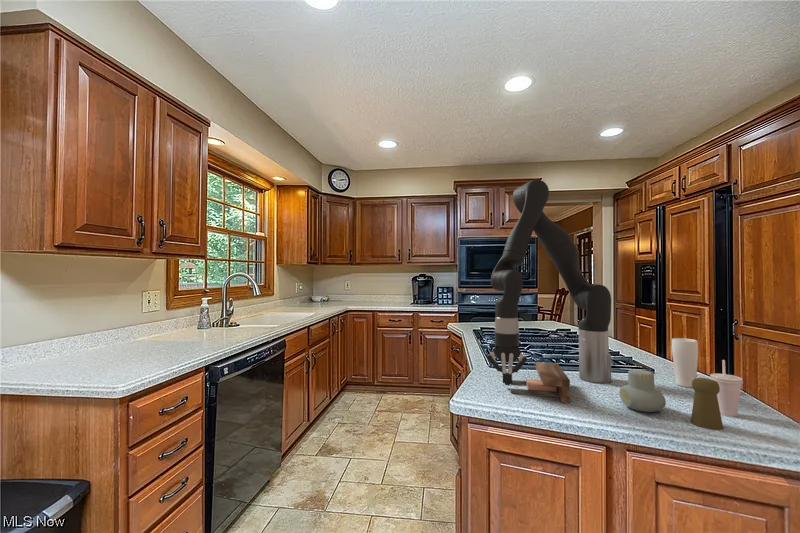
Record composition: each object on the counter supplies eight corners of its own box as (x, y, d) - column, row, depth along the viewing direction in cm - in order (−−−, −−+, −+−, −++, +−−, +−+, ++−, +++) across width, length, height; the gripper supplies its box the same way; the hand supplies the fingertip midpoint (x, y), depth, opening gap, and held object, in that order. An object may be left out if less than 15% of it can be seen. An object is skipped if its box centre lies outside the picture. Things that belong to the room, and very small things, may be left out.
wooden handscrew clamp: (557, 382, 121) (557, 363, 121) (570, 403, 101) (569, 380, 102) (508, 379, 125) (508, 360, 125) (511, 398, 105) (511, 376, 106)
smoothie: (704, 409, 96) (702, 357, 96) (726, 408, 96) (724, 356, 97) (728, 419, 89) (726, 363, 90) (751, 418, 90) (749, 362, 90)
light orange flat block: (552, 388, 115) (552, 380, 115) (556, 395, 108) (556, 387, 108) (526, 386, 117) (526, 378, 117) (528, 393, 110) (528, 385, 110)
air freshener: (670, 417, 91) (669, 378, 91) (634, 415, 92) (633, 376, 92) (648, 402, 102) (647, 367, 102) (616, 401, 103) (615, 366, 103)
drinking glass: (699, 385, 117) (698, 339, 117) (698, 390, 112) (697, 342, 112) (674, 381, 121) (672, 337, 122) (671, 385, 116) (670, 339, 117)
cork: (729, 430, 83) (728, 383, 83) (700, 428, 84) (698, 382, 84) (712, 420, 89) (711, 376, 89) (685, 418, 90) (684, 374, 90)
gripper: (526, 330, 118) (527, 382, 117) (485, 328, 121) (486, 380, 120) (529, 333, 110) (530, 389, 110) (485, 332, 113) (486, 386, 113)
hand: (507, 384), depth 115 cm, fingers closed
